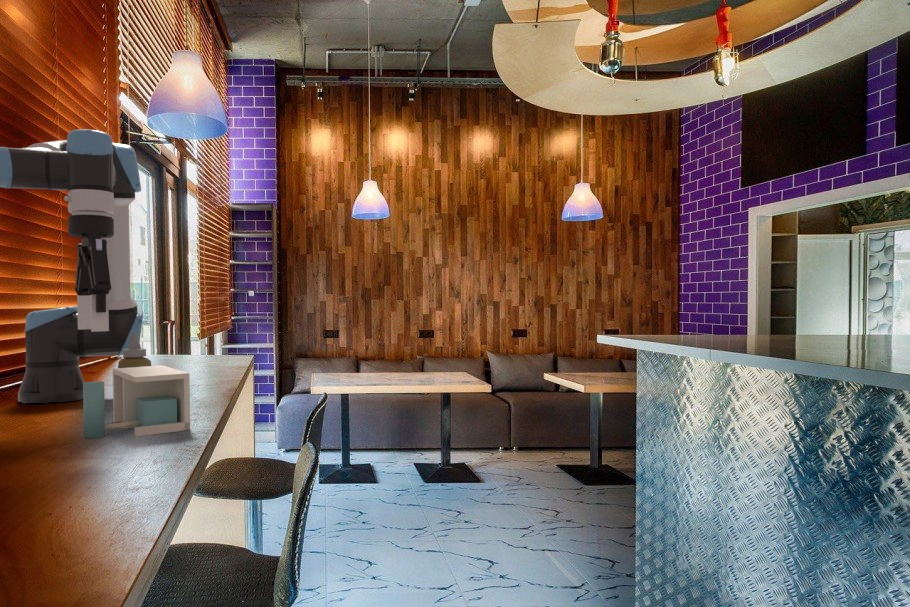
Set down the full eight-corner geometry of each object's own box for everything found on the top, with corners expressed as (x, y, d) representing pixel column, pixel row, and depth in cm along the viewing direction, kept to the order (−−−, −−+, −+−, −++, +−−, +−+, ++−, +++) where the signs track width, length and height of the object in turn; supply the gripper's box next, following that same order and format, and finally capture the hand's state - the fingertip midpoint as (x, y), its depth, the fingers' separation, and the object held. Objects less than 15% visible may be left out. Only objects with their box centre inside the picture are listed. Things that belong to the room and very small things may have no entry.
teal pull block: (81, 434, 130) (80, 381, 130) (168, 424, 140) (168, 375, 140) (86, 440, 126) (86, 384, 125) (177, 429, 135) (176, 378, 135)
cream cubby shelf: (113, 421, 144) (112, 368, 144) (162, 416, 150) (162, 365, 150) (135, 436, 129) (135, 377, 128) (190, 429, 134) (189, 373, 134)
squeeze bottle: (106, 416, 151) (105, 333, 150) (139, 410, 158) (137, 331, 158) (131, 418, 147) (130, 334, 147) (163, 413, 154) (162, 332, 154)
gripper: (57, 220, 136) (59, 329, 136) (80, 206, 116) (82, 333, 116) (100, 223, 141) (101, 327, 141) (128, 209, 121) (130, 331, 121)
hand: (92, 330), depth 129 cm, fingers open, 13 cm apart
